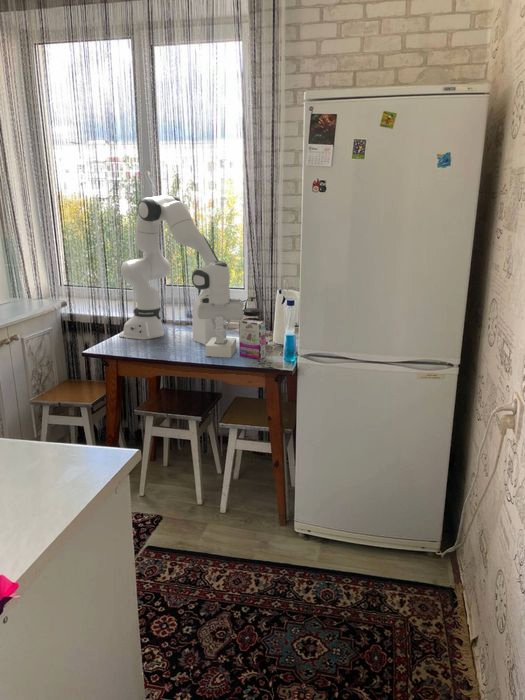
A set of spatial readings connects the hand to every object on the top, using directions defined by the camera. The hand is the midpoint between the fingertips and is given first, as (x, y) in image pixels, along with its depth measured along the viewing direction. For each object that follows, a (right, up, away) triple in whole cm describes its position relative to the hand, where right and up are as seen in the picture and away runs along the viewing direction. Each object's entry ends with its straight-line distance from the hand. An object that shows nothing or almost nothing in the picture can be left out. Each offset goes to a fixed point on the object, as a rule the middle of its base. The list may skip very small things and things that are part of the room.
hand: (221, 328), depth 235 cm
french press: (+14, -7, +15) cm, 22 cm away
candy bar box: (+14, -13, -3) cm, 19 cm away
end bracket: (0, -6, +2) cm, 7 cm away
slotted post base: (0, -11, +3) cm, 11 cm away
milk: (-8, -5, +23) cm, 24 cm away
